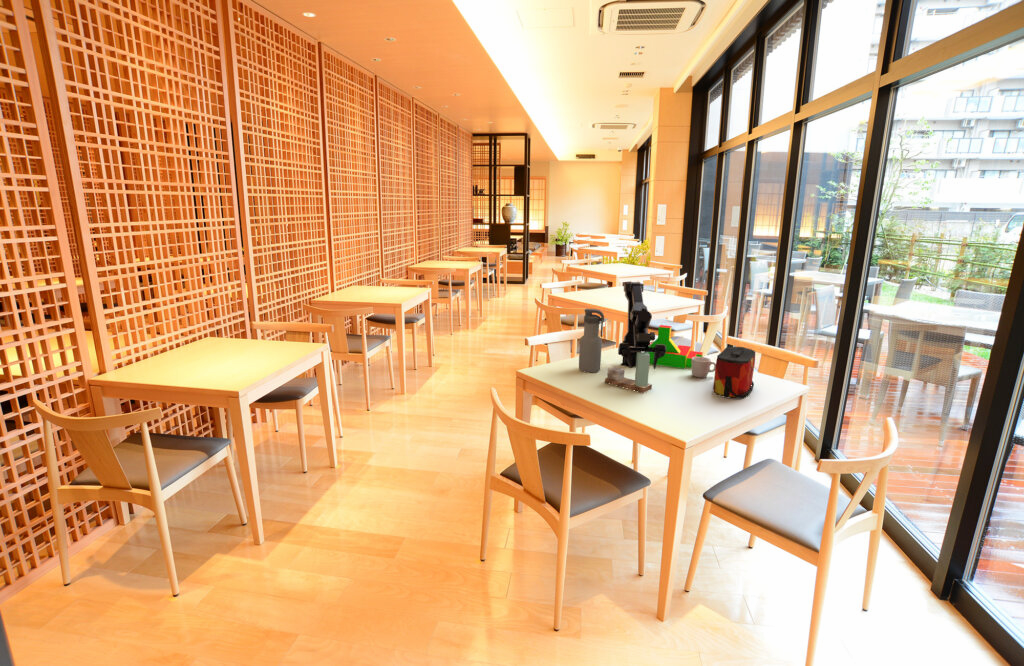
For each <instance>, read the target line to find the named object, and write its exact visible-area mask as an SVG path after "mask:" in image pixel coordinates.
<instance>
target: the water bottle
mask: <svg viewBox="0 0 1024 666" xmlns="http://www.w3.org/2000/svg"><path fill="white" fill-rule="evenodd" d="M584 313H585V314H584V316H583V323H584V326H583V335H582V336H581V337H580V339H579V351H578V369H580V371H581V370H582V371H581V372H583V371H585V372H584V373H587V372H595V373H598V372H600V371H601V361H602V346H603V345H602V344H603V340H602V338H603V332H604V331H603V330H604V329H603V328H604V324H603V323H604V322H605V315H604V313H603V311H601V310H600V309H596V308H585V309H584ZM600 322H601V324H600ZM599 329H600V330H599ZM599 333H600V335H599Z"/></svg>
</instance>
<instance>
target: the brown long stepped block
mask: <svg viewBox="0 0 1024 666" xmlns="http://www.w3.org/2000/svg"><path fill="white" fill-rule="evenodd" d="M606 375H607V377H606V378H604V383H605V382H606V383H605V384H607V383H610V384H609V385H611V384H613V385H612V386H614V385H617V386H616V387H618V386H621V387H620V388H622V387H624V388H623V389H626V388H628V389H627V390H629V389H631V391H633V390H635V391H634V392H637V391H638V393H641V392H642V394H644V392H645V393H647V392H648V390H649V391H650V390H652V389H653V384H652V383H648V387H647V386H636V384H635V379H632V378H628V377H625V369H624V368H620V367H617V366H612V367H609V368H607V374H606ZM646 391H647V392H646Z"/></svg>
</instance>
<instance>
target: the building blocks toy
mask: <svg viewBox="0 0 1024 666" xmlns="http://www.w3.org/2000/svg"><path fill="white" fill-rule="evenodd" d="M657 331H658V332H657V338H655V340H653V341H651V342H650V345H649V347H655V346H656V344H664V345H665V346H666V352H665V355H664V356H663V357H661V358H658V360H657V363H656V366H661V365H662V366H663V367H670V368H676V367H677V368H679V369H684V368H685V369H687V367H689V369H692V357H704V356H703V355H704V352H703V351H694V350H692V346H691V345H680V344H678V345H677V344H676V343H675V342H674V341H673V339H672V338H671V337H672V325H666V324H665V325H663V324H660V325H659V326H658V330H657ZM648 353H649V355H650V362H649V365H653V363H654V352H648ZM677 368H676V369H677Z"/></svg>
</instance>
